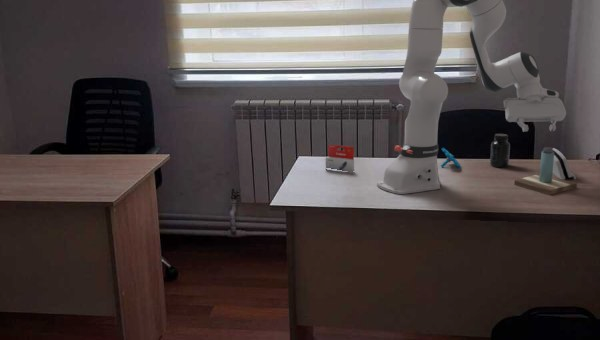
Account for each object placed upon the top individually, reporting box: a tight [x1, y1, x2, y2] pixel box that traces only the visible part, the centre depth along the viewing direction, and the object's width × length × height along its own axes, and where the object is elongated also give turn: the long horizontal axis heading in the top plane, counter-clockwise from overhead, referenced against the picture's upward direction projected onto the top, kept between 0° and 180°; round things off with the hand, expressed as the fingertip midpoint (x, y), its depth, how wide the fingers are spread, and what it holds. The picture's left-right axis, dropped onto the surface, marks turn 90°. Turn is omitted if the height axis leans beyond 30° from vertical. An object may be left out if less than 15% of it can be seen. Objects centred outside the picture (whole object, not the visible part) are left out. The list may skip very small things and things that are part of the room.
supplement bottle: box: [489, 133, 511, 168], centre depth 230 cm, size 7×7×12 cm
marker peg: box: [539, 146, 554, 183], centre depth 203 cm, size 4×4×12 cm
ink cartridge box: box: [325, 144, 355, 173], centre depth 228 cm, size 2×11×10 cm, turn 61°
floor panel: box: [513, 173, 578, 196], centre depth 205 cm, size 14×14×2 cm
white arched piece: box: [541, 147, 577, 180], centre depth 219 cm, size 17×5×10 cm, turn 179°
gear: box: [440, 147, 462, 169], centre depth 231 cm, size 11×6×10 cm
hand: (539, 130), depth 208 cm, fingers open, 8 cm apart
